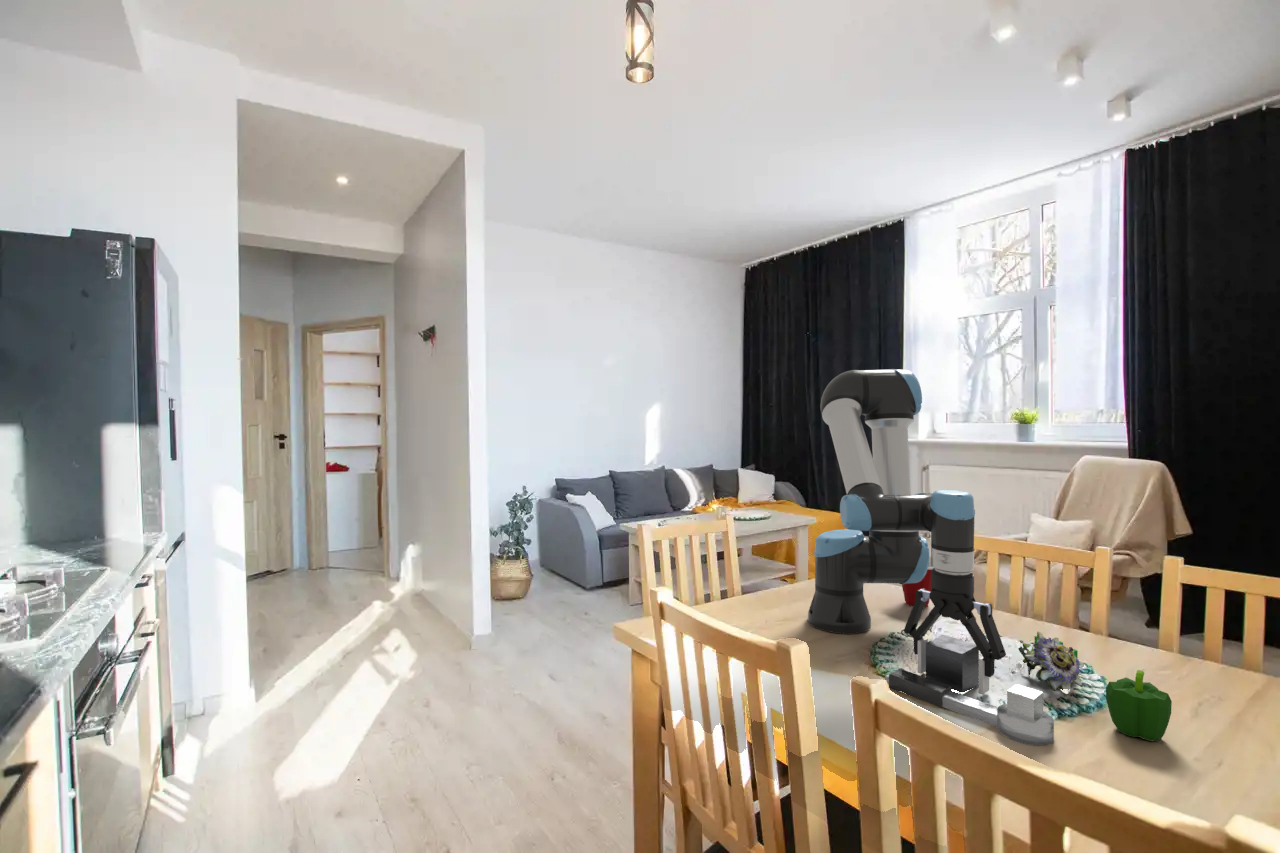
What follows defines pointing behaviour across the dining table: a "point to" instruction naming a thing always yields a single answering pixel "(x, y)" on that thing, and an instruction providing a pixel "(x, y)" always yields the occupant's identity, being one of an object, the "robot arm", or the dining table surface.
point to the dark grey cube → (953, 662)
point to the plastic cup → (917, 587)
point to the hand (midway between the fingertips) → (952, 681)
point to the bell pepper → (1138, 707)
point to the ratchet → (985, 707)
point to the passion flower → (1053, 662)
